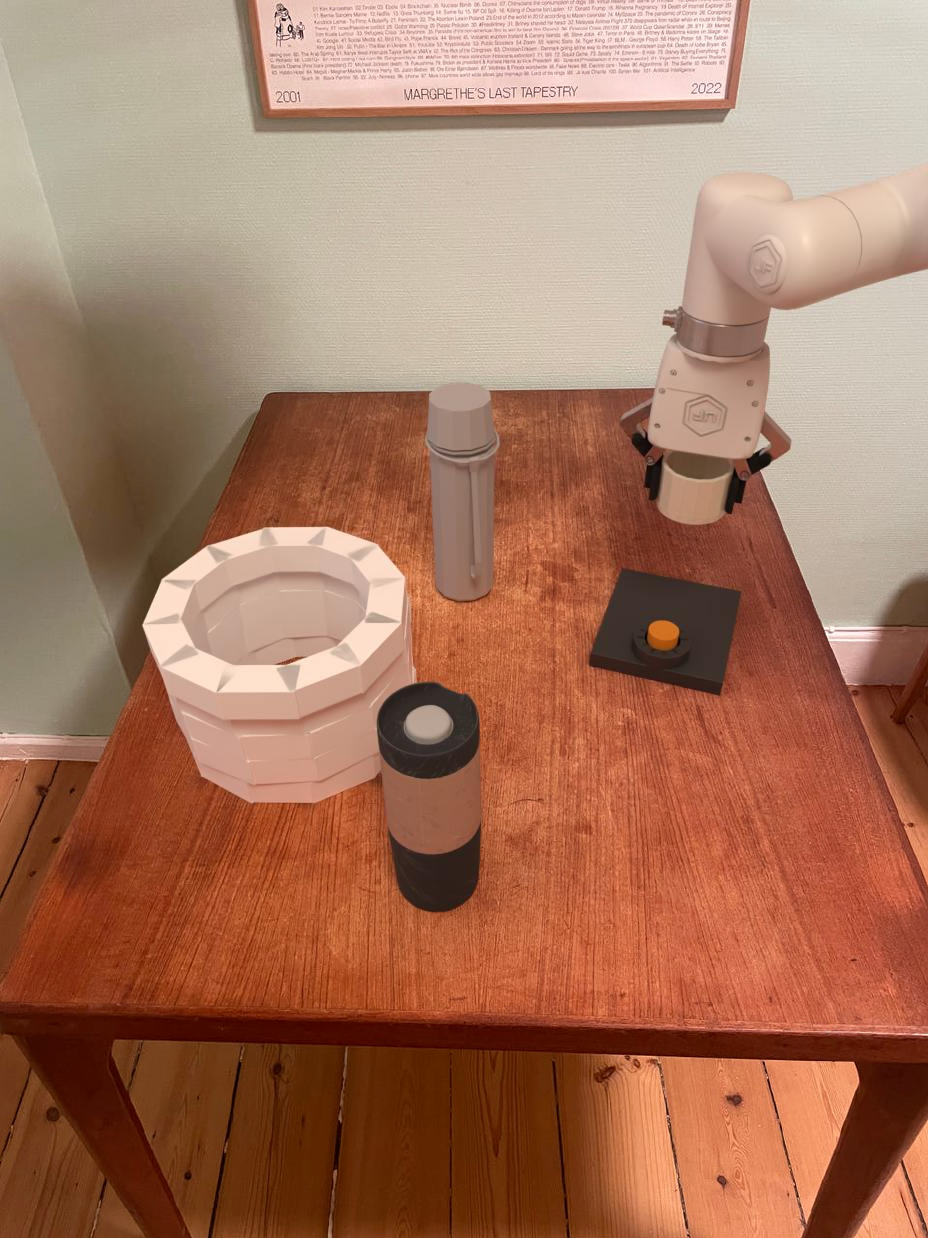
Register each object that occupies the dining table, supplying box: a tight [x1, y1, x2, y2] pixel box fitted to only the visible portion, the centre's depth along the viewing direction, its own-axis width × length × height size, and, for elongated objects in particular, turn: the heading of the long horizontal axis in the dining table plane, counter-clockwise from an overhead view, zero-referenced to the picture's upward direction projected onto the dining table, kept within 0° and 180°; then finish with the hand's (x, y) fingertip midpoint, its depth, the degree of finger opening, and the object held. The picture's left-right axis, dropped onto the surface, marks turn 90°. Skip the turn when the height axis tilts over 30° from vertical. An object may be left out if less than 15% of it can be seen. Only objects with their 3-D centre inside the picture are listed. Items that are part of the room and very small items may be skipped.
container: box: [141, 526, 418, 805], centre depth 87 cm, size 25×24×16 cm
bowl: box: [655, 450, 735, 526], centre depth 89 cm, size 7×7×5 cm
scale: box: [588, 567, 742, 696], centre depth 100 cm, size 14×16×4 cm
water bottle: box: [424, 382, 501, 603], centre depth 99 cm, size 9×8×25 cm
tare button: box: [647, 620, 679, 651], centre depth 95 cm, size 3×3×2 cm
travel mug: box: [377, 680, 483, 913], centre depth 71 cm, size 8×8×20 cm
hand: (691, 499), depth 90 cm, fingers closed on bowl, 7 cm apart
